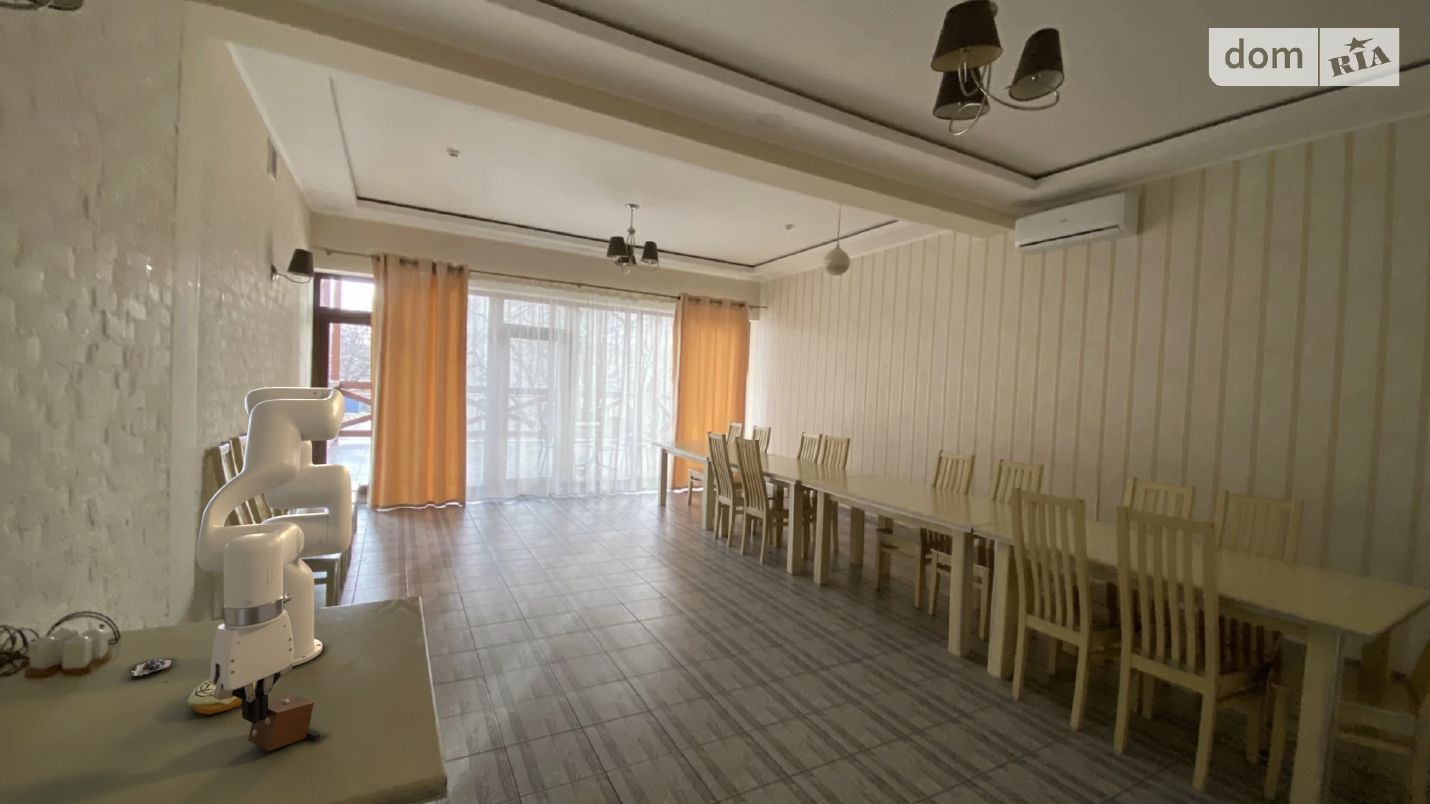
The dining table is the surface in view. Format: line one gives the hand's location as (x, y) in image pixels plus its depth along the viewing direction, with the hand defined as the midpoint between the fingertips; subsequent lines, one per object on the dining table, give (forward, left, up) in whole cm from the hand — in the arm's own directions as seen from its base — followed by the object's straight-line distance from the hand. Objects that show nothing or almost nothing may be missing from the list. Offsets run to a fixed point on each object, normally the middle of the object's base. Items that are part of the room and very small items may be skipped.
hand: (255, 718), depth 94 cm
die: (0, +3, -5) cm, 6 cm away
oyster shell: (-49, +5, -6) cm, 50 cm away
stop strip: (0, +7, -6) cm, 9 cm away
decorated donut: (-22, +6, -6) cm, 24 cm away
